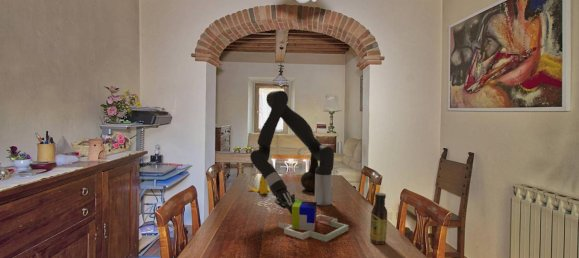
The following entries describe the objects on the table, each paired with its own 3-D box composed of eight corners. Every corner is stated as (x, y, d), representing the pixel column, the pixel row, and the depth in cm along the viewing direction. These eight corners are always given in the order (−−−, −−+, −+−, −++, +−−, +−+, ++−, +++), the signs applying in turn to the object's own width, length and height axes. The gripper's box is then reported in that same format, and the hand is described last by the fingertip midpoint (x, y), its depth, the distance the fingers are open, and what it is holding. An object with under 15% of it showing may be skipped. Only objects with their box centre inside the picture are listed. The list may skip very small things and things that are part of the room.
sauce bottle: (367, 239, 132) (369, 191, 132) (382, 239, 133) (384, 191, 132) (373, 245, 126) (375, 195, 125) (388, 245, 126) (390, 195, 126)
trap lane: (271, 229, 141) (271, 224, 141) (307, 215, 162) (308, 211, 162) (319, 245, 125) (319, 239, 125) (353, 227, 146) (353, 222, 146)
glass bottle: (329, 188, 224) (330, 148, 222) (323, 194, 207) (324, 150, 206) (304, 186, 229) (305, 146, 228) (297, 191, 213) (298, 149, 211)
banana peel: (265, 196, 198) (265, 169, 197) (247, 190, 212) (247, 165, 211) (285, 192, 209) (285, 167, 209) (266, 187, 223) (267, 163, 223)
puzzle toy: (313, 230, 141) (314, 208, 140) (291, 228, 142) (291, 206, 142) (316, 223, 151) (316, 202, 150) (294, 221, 152) (295, 200, 152)
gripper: (270, 181, 150) (290, 212, 143) (288, 177, 160) (307, 206, 153) (262, 190, 154) (280, 221, 147) (280, 186, 164) (298, 215, 157)
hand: (294, 214), depth 150 cm, fingers closed
